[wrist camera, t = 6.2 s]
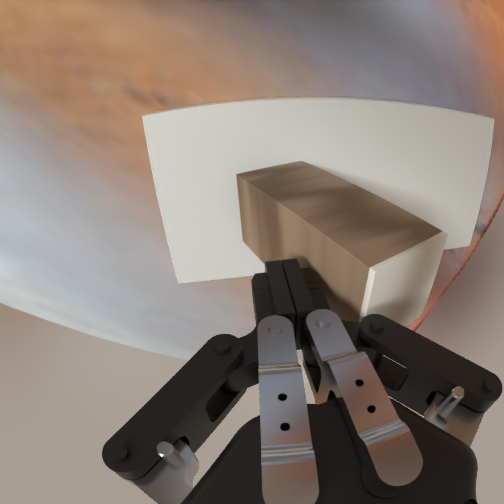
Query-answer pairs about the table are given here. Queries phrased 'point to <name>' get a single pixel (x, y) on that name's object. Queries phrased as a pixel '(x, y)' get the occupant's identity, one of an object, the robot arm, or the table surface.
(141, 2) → the table surface
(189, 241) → the white board
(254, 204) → the walnut block
